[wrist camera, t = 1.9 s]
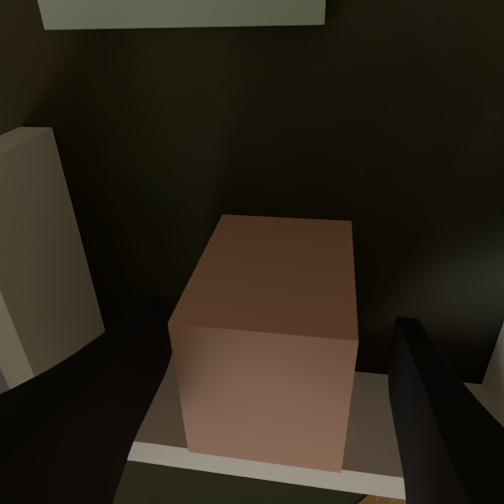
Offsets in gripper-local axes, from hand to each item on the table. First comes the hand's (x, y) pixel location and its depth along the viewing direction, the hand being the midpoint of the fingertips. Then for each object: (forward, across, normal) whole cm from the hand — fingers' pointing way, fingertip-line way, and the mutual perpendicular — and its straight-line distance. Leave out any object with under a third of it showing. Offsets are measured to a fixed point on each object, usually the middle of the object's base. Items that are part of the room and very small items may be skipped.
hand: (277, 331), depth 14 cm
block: (+3, 0, 0) cm, 3 cm away
